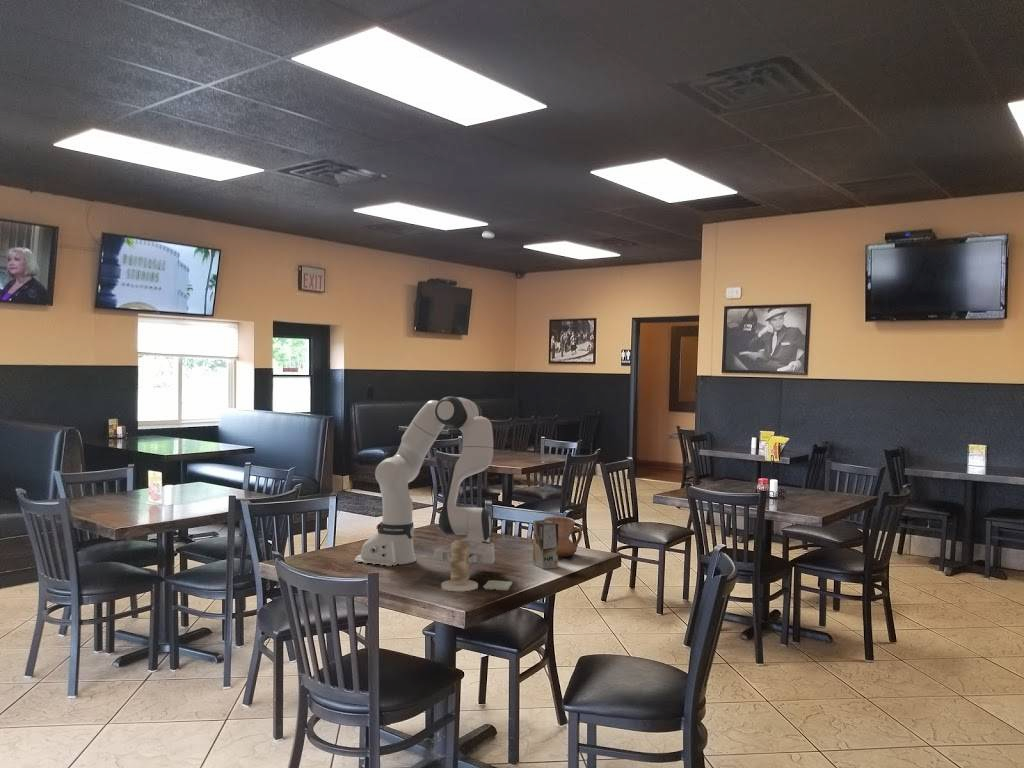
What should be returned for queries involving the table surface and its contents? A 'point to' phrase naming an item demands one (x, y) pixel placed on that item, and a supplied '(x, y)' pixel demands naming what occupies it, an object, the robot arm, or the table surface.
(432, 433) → the robot arm
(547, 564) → the coffee box
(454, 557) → the maple block
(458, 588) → the cream saucer
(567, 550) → the ceramic jug
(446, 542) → the table surface
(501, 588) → the sage coaster
